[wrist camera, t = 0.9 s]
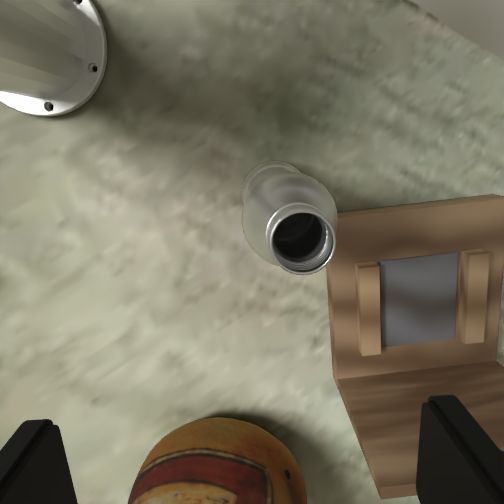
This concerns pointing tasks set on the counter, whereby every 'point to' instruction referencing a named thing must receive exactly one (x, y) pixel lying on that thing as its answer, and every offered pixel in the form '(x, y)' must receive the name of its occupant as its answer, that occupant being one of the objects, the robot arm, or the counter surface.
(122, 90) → the counter surface
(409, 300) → the display stand
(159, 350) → the counter surface
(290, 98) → the counter surface
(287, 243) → the plastic bottle
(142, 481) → the ceramic pitcher
